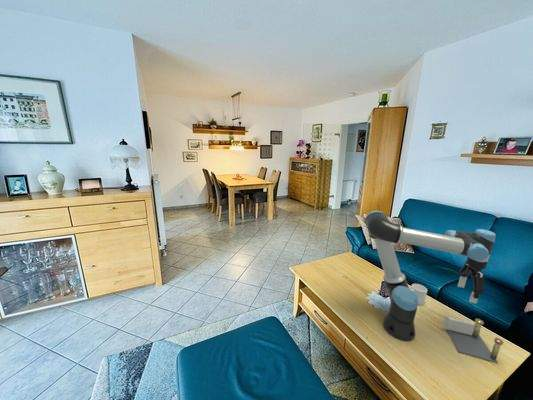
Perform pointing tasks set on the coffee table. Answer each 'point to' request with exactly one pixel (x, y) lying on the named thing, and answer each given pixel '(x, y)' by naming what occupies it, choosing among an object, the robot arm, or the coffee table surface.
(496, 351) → the brass capped rod
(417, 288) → the cup
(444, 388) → the coffee table surface
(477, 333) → the hinge post
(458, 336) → the mat
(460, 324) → the beige piece
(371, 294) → the coffee table surface
